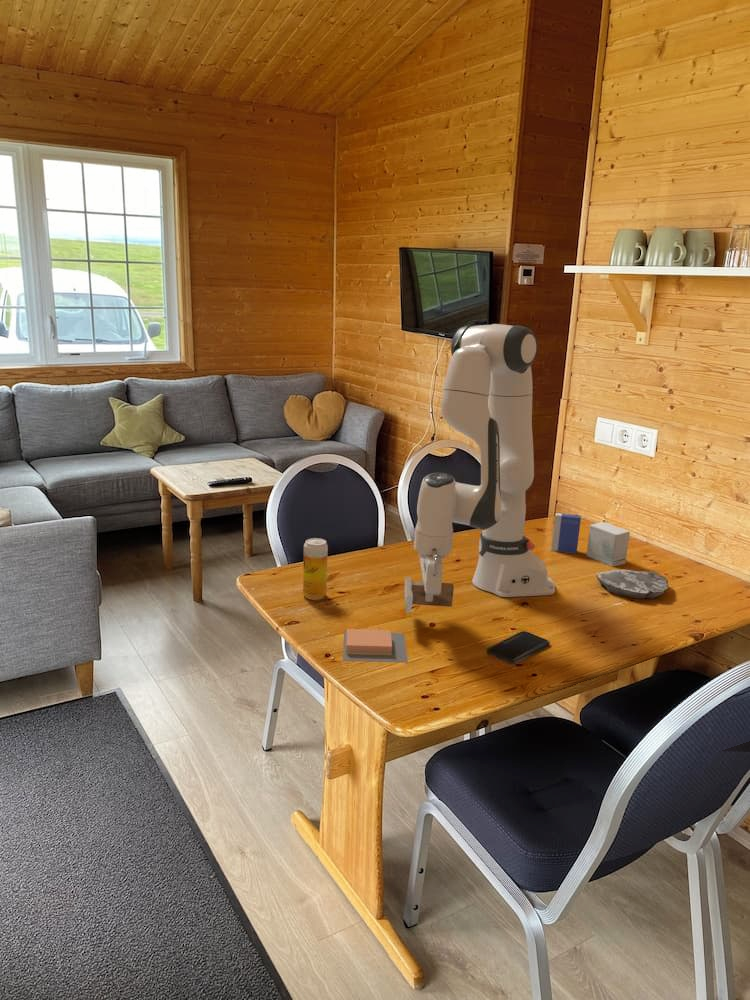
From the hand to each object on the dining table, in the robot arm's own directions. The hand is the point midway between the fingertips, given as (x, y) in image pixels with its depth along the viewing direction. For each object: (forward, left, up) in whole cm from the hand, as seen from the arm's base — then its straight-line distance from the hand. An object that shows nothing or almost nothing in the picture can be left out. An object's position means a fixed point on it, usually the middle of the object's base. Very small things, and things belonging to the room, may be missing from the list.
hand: (428, 597), depth 183 cm
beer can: (+28, -15, -7) cm, 32 cm away
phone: (-20, +11, -8) cm, 24 cm away
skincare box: (-59, -49, -7) cm, 77 cm away
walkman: (-48, -56, -7) cm, 74 cm away
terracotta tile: (+9, +13, -6) cm, 17 cm away
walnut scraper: (0, 0, -2) cm, 2 cm away
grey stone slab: (-60, -26, -8) cm, 66 cm away
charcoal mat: (+13, +13, -7) cm, 20 cm away
